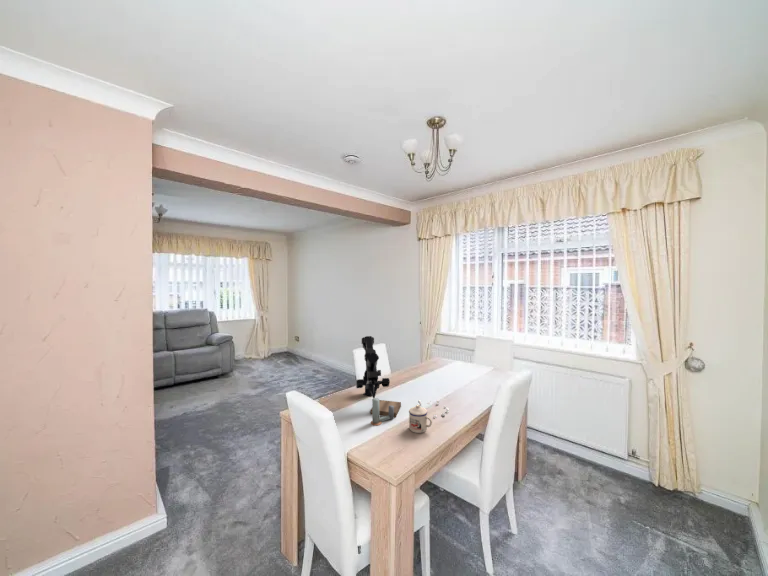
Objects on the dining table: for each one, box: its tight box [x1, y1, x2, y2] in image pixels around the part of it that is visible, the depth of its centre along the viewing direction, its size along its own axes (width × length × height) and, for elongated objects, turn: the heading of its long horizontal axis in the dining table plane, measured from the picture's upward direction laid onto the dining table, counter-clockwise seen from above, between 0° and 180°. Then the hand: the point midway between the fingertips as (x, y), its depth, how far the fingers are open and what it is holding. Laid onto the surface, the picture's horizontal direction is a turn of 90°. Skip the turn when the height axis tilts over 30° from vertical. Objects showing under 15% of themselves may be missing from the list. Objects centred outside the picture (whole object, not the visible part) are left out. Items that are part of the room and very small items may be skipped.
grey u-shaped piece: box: [371, 397, 395, 423], centre depth 153 cm, size 12×4×12 cm, turn 118°
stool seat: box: [370, 399, 402, 426], centre depth 160 cm, size 14×25×2 cm, turn 165°
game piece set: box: [417, 399, 450, 419], centre depth 165 cm, size 19×20×4 cm
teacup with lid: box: [408, 404, 433, 434], centre depth 144 cm, size 12×9×12 cm
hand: (373, 397), depth 162 cm, fingers closed
